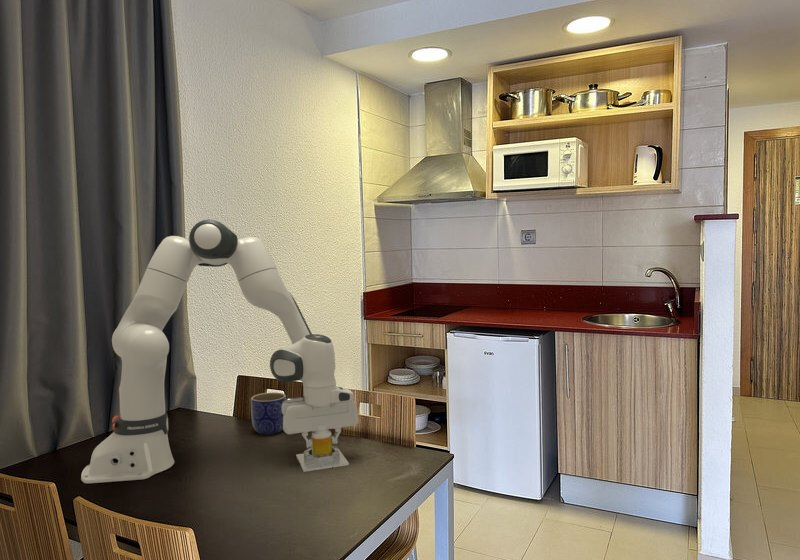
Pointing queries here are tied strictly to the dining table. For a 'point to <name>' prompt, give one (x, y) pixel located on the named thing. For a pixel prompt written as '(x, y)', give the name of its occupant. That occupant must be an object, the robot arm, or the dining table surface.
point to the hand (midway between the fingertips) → (321, 445)
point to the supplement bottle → (322, 441)
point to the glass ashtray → (321, 460)
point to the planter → (267, 412)
